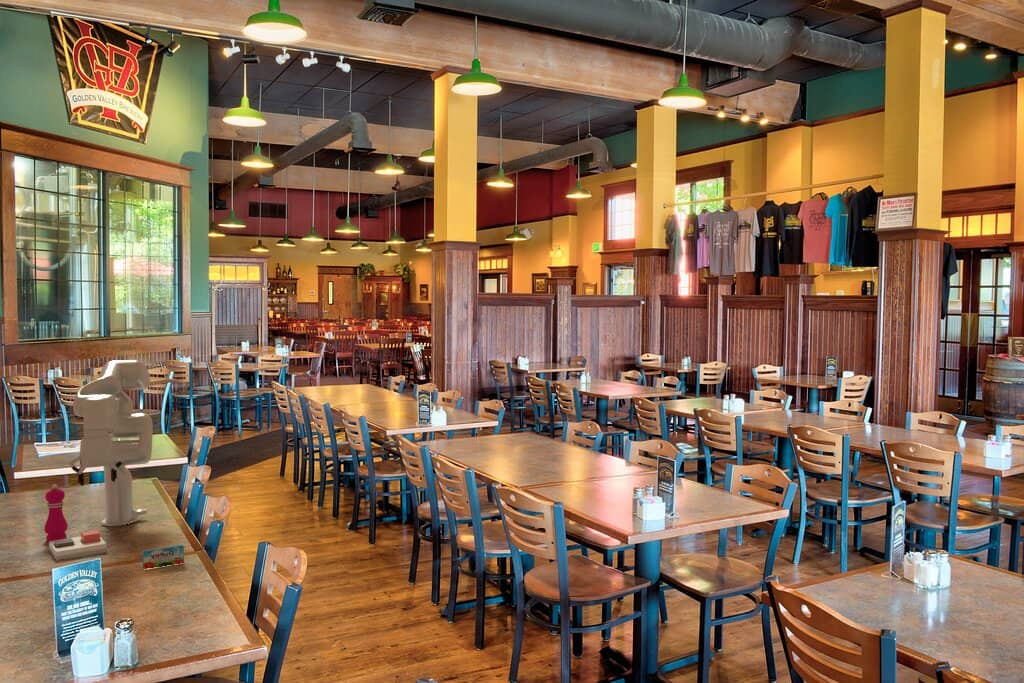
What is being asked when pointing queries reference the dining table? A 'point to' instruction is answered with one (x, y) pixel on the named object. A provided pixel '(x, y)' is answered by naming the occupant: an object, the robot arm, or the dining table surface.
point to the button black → (64, 543)
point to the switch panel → (78, 548)
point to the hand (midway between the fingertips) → (97, 483)
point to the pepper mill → (55, 515)
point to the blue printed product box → (163, 556)
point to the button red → (90, 536)
